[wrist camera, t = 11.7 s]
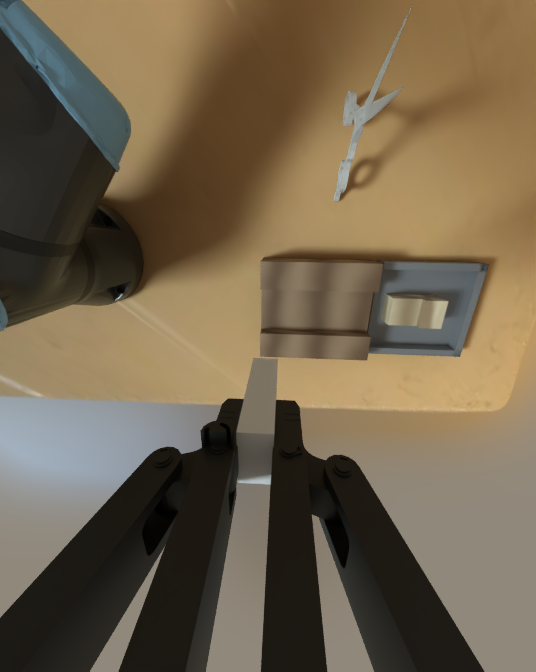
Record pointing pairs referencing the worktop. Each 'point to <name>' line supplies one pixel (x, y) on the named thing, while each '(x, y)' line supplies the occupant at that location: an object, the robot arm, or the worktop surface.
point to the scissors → (362, 118)
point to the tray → (426, 279)
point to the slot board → (317, 307)
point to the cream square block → (401, 309)
